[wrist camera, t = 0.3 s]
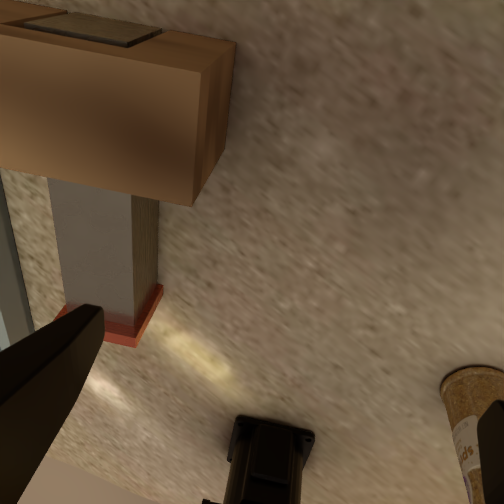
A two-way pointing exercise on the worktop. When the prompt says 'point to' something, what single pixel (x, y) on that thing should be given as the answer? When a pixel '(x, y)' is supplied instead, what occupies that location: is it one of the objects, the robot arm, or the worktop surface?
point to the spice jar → (470, 418)
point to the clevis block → (113, 107)
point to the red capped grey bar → (106, 217)
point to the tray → (11, 286)
